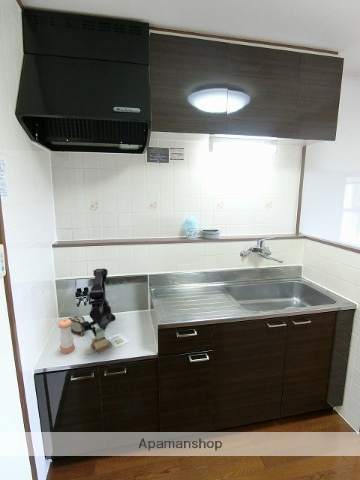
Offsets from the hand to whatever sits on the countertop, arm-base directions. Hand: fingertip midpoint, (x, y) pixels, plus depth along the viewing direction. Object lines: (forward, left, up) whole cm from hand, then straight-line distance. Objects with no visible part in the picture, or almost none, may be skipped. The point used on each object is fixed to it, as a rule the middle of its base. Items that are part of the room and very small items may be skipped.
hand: (99, 334), depth 146 cm
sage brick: (0, 0, -1) cm, 1 cm away
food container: (-23, -3, -8) cm, 25 cm away
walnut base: (0, 0, -9) cm, 9 cm away
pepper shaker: (-10, -15, -8) cm, 20 cm away
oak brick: (0, 0, -6) cm, 6 cm away
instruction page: (+1, +11, -8) cm, 14 cm away
